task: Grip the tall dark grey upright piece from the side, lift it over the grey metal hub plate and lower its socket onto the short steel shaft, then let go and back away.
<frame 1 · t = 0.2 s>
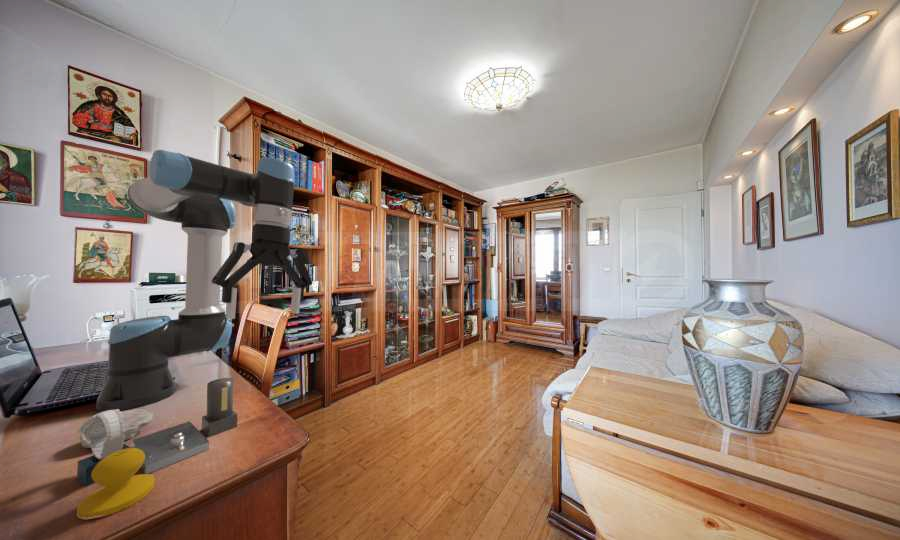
hand: (265, 315, 64), 27 cm above the table, tool pointing down, fingers open, 13 cm apart
watch: (105, 473, 50), on the table
yellow stacked oval discs: (118, 499, 44), on the table
hub plate: (170, 448, 57), on the table
dark grey upright piece: (219, 427, 65), on the table
fossil: (118, 438, 61), on the table
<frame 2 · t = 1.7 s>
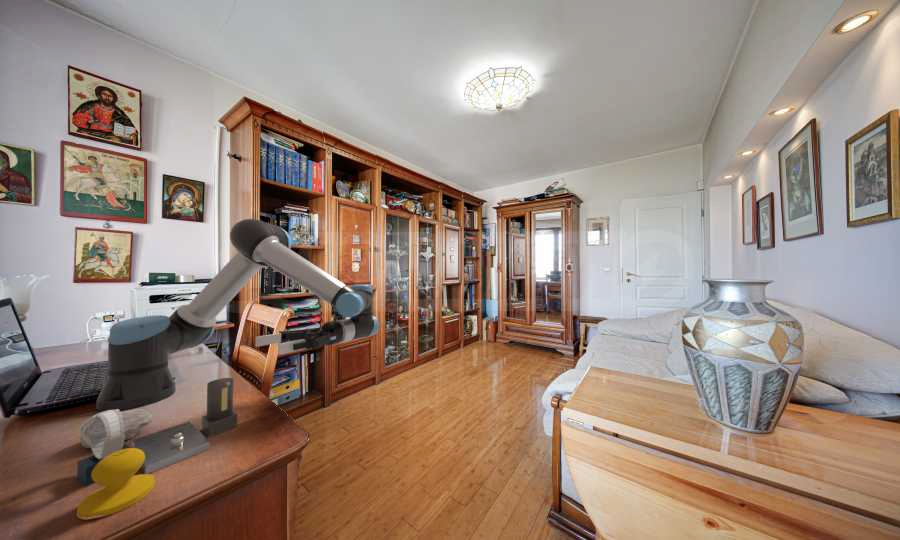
hand: (266, 345, 73), 18 cm above the table, tool horizontal, fingers open, 13 cm apart
nothing on the table moved.
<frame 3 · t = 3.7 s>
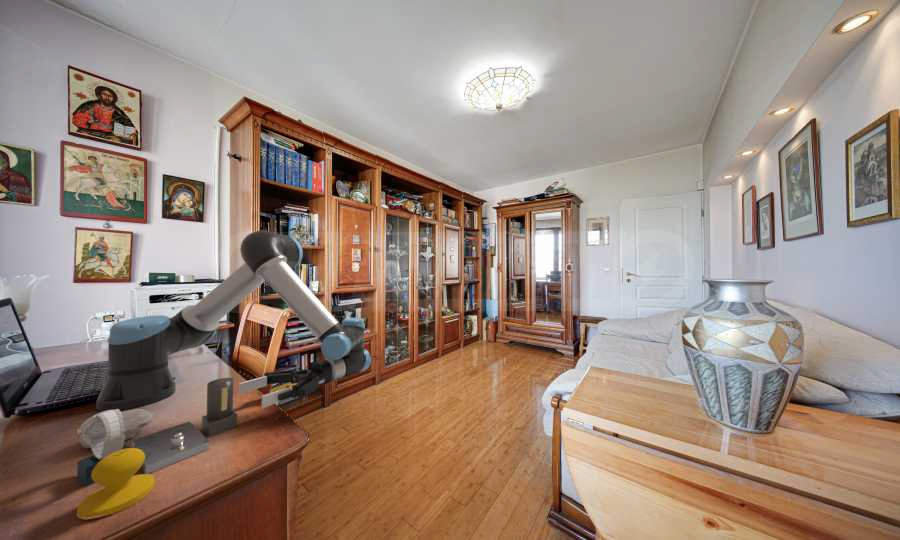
hand: (250, 394, 69), 6 cm above the table, tool horizontal, fingers open, 13 cm apart
nothing on the table moved.
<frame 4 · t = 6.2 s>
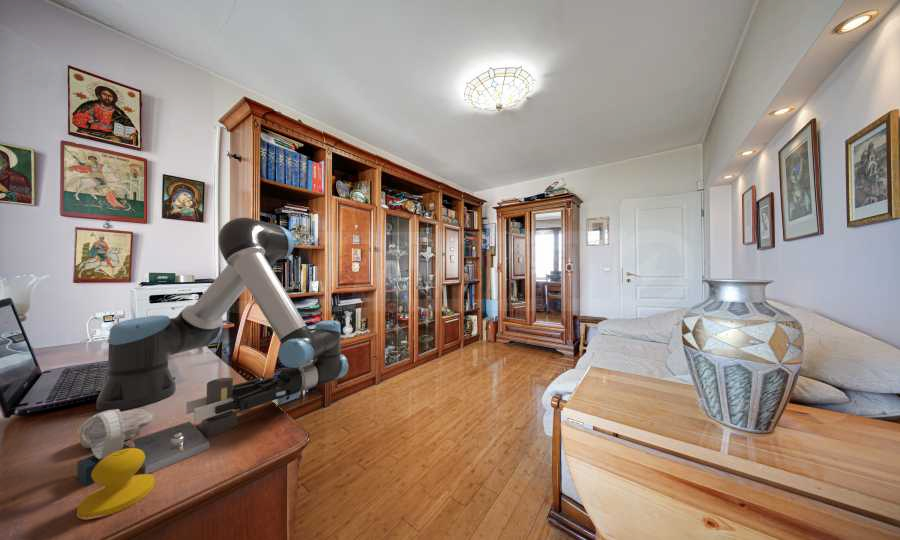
hand: (190, 411, 60), 6 cm above the table, tool horizontal, fingers closed on dark grey upright piece, 5 cm apart
dark grey upright piece: (219, 427, 65), on the table, touching gripper
everything else where it was.
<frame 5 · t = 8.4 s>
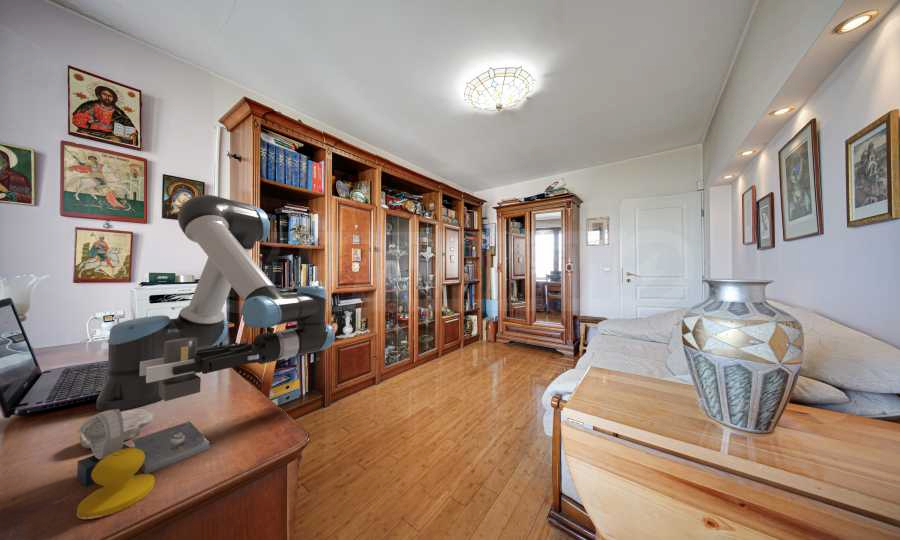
hand: (143, 372, 52), 18 cm above the table, tool horizontal, fingers closed on dark grey upright piece, 5 cm apart
dark grey upright piece: (179, 393, 56), point 12 cm above the table, touching gripper
everything else where it was.
when the fingers open (8 cm above the table, at t = 10.8 s): dark grey upright piece stays where it is, resting on hub plate.
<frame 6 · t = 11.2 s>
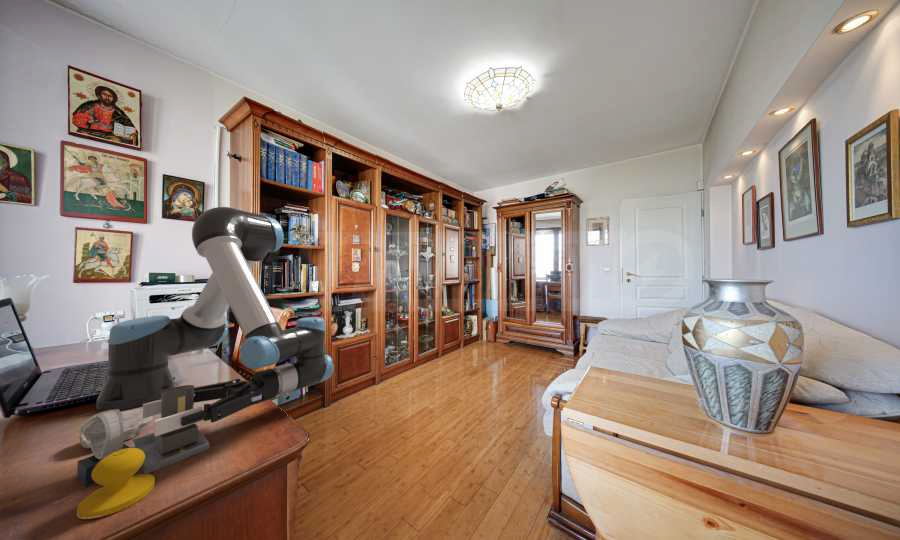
hand: (148, 419, 52), 8 cm above the table, tool horizontal, fingers open, 10 cm apart
dark grey upright piece: (177, 443, 56), point 2 cm above the table, touching hub plate
everything else where it was.
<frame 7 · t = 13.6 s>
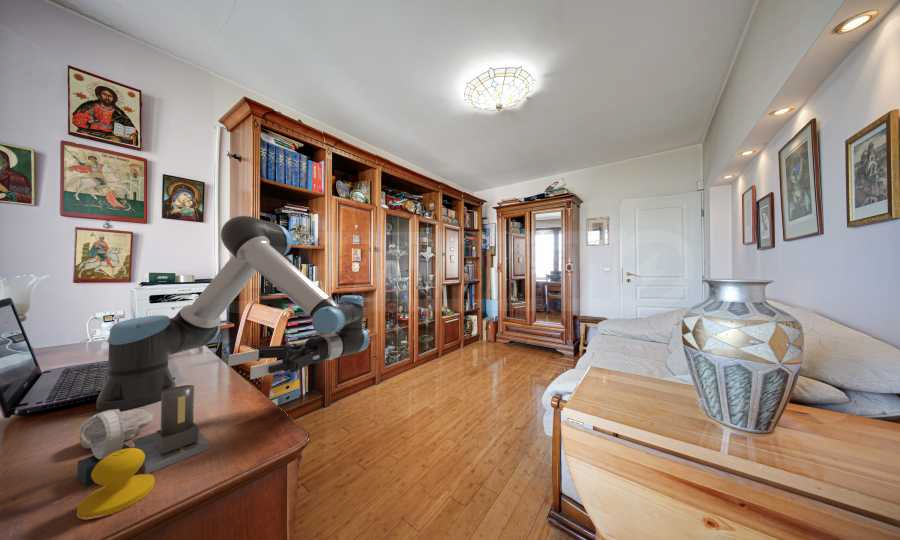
hand: (238, 366, 65), 15 cm above the table, tool horizontal, fingers open, 13 cm apart
nothing on the table moved.
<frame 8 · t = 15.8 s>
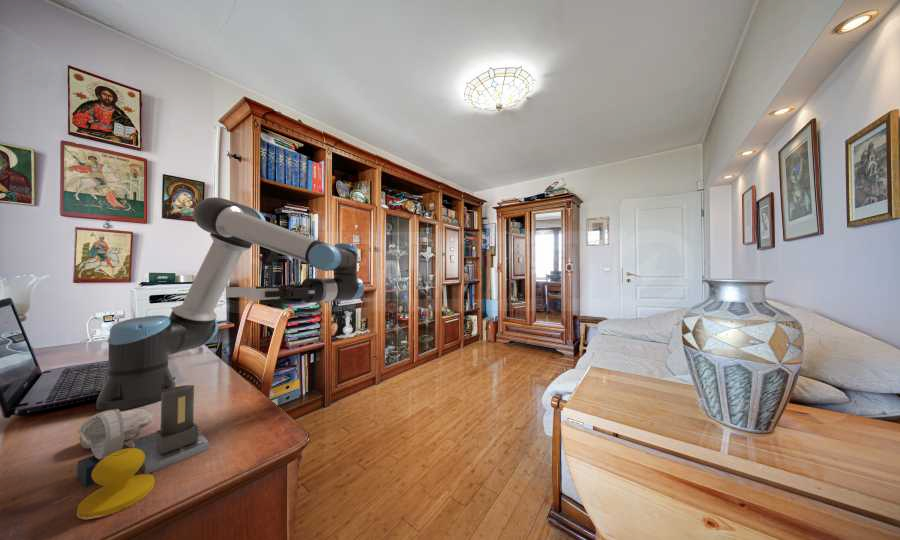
hand: (236, 293, 68), 32 cm above the table, tool horizontal, fingers open, 13 cm apart
nothing on the table moved.
at the end: dark grey upright piece 0.4 cm from the target spot, point 1.6 cm above the table; dark grey upright piece tilted 2°; the gripper is holding nothing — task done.
